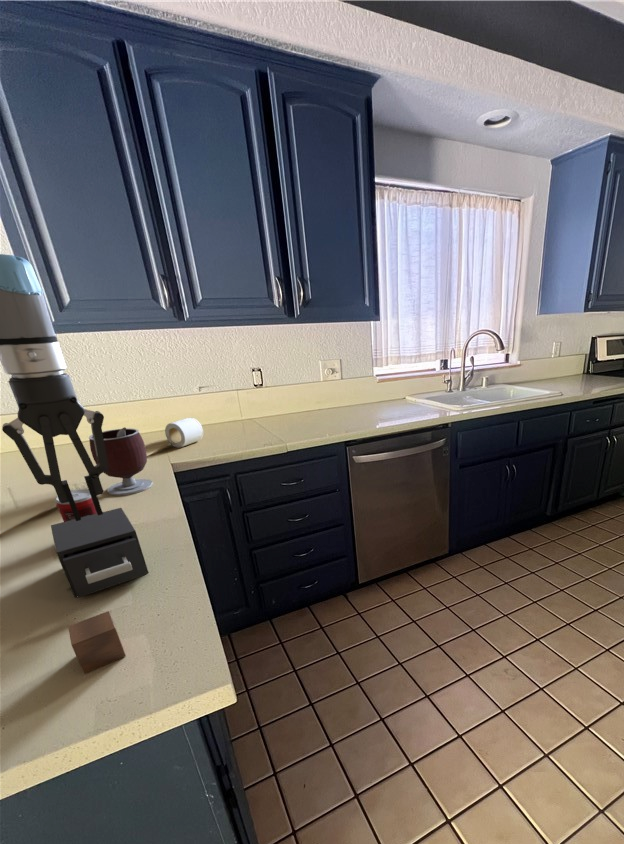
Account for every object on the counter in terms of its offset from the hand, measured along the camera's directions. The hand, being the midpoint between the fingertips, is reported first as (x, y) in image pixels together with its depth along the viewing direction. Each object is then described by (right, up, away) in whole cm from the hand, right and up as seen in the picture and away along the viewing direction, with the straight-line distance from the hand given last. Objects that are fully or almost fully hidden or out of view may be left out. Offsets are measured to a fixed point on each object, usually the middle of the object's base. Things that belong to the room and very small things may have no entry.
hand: (88, 515), depth 74 cm
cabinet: (-7, -12, +15) cm, 20 cm away
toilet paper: (-31, +29, +103) cm, 111 cm away
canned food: (-19, -6, +29) cm, 35 cm away
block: (+8, -22, -8) cm, 24 cm away
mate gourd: (-27, +8, +58) cm, 64 cm away
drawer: (-3, -12, +11) cm, 17 cm away
